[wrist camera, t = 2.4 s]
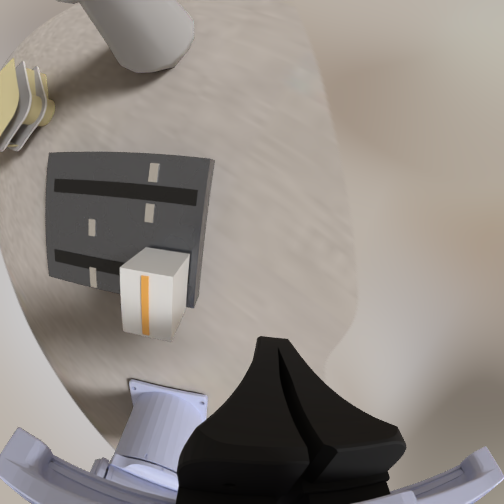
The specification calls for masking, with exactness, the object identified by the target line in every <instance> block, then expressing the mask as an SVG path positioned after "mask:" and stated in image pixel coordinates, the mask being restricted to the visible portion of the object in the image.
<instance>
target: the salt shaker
mask: <svg viewBox="0 0 504 504" xmlns="http://www.w3.org/2000/svg"><path fill="white" fill-rule="evenodd" d="M57 1H59V2H65V3H72V4H75V3H78V2H79V3H80V4H81V6H82V7H83V9H84V10H85V12H86V13H87V15H88V16H89V18H90V19H91V21H92V22H93V23H94V25H95V26H96V28H97V29H98V31H99V32H100V34H101V35H102V37H103V38H104V40H105V41H106V43H107V44H108V46H109V48H110V49H111V51H112V53H113V54H114V56H115V57H116V59H117V61H118V62H119V64H120V65H121V66H123V67H125V68H127V69H129V70H131V71H133V72H136V73H147V72H156V71H160V70H164V69H168V68H173V67H175V66H176V64H177V63H178V62H179V61H180V60H181V58H182V57H183V56H184V55H185V54H186V52H187V51H188V50H189V49H190V46H191V44H192V42H193V40H194V20H193V19H192V18H191V17H190V15H189V14H188V13H187V11H186V10H185V9H184V8H183V7H182V6H181V5H180V3H179V2H178V1H177V0H57Z"/></svg>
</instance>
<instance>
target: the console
mask: <svg viewBox="0 0 504 504" xmlns="http://www.w3.org/2000/svg"><path fill="white" fill-rule="evenodd" d="M214 162H215V160H212V159H207V158H198V157H188V156H177V155H164V154H149V153H128V152H56V153H49V158H48V168H47V182H46V246H47V259H48V270H49V276H51V277H54V278H58V279H62V280H65V281H69V282H73V283H77V284H81V285H85V286H89V287H93V288H97V289H101V290H105V291H110V292H114V293H118V294H121V293H120V267H121V266H122V265H123V264H125V263H126V262H127V261H128V260H130V259H131V258H132V257H134V256H135V255H136V254H138V253H139V252H140V251H142V250H143V249H144V248H145V247H148V248H155V249H161V250H168V251H174V252H181V253H187V254H190V258H189V270H188V283H187V297H186V307H189V308H194V306H195V304H196V301H197V299H198V297H199V287H200V276H201V266H202V256H203V247H204V238H205V229H206V221H207V213H208V205H209V197H210V190H211V183H212V176H213V169H214Z"/></svg>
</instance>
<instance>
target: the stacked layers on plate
mask: <svg viewBox="0 0 504 504" xmlns="http://www.w3.org/2000/svg"><path fill="white" fill-rule="evenodd" d="M54 111H55V104H54V102H53V101H52V100H50V99H49V98H48V89H47V80H46V75H45V74H42V73H40V71H39V67H37V66H36V67H34V68H33V69H32V70H31V69H28V68H26V66H25V62H24V61H22V62H21V63H20V64H19V65H18V66H17V67H16V68H15V64H14V58H13V59H12V60H11V61H10V62H9V63H8V64H7V65H6V66H5V67H4V68H3V69H2V70H1V71H0V151H4V150H5V149H6V147H7V148H8V149H11V150H14V151H19V150H20V149H21V148H22V147H23V145H24V144H25V142H26V141H27V139H28V138H29V136H30V135H31V134H32V132H33V131H34V130H35V128H36V127H37V126H45V125H47V124H48V123H49V122H50V120H51V119H52V117H53V115H54Z"/></svg>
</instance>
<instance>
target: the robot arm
mask: <svg viewBox="0 0 504 504" xmlns="http://www.w3.org/2000/svg"><path fill="white" fill-rule="evenodd" d="M129 387H130V392H131V397H132V402H133V410H132V412H131V414H130V417H129V419H128V421H127V424H126V426H125V429H124V431H123V433H122V436H121V438H120V441H119V443H118V446H117V448H116V451H115V453H114V455H113V457H112V459H111V460H110V462H109V460H107V459H106V458H102V459H97V460H95V462H94V464H93V466H92V469H91V471H90V472H87V471H85V470H83V469H81V468H78V467H76V466H74V465H72V464H70V463H68V462H66V461H64V460H62V459H60V458H58V457H57V456H54V455H53V454H52V452H51V450H50V449H49V447H48V446H47V445H46V444H44V443H43V442H42V441H41V440H39V439H38V438H36V437H35V436H33V435H31V434H29V433H28V432H26V431H25V430H23V429H22V428H20V427H18V428H17V430H16V431H15V432H14V434H13V435H12V437H11V439H10V440H9V442H8V443H7V445H6V446H5V448H4V449H3V451H2V452H1V454H0V479H2V480H3V481H4V482H5V483H6V484H7V485H8V486H9V487H11V488H12V489H13V490H14V491H15V492H17V493H18V494H19V495H20V496H21V497H23V498H24V499H25V500H27V501H28V502H30V503H31V504H473V503H475V502H476V501H478V500H479V499H480V498H481V497H483V496H484V495H485V494H487V493H488V492H489V491H490V490H492V489H493V488H494V487H495V486H496V485H497V484H499V483H500V482H501V481H502V480H503V479H504V475H503V473H502V471H501V470H500V468H499V467H498V465H497V463H496V461H495V460H494V458H493V457H492V455H491V453H490V452H489V450H488V449H487V447H486V446H484V447H482V448H480V449H479V450H477V451H475V452H473V453H472V454H470V455H469V456H468V457H466V458H465V459H464V460H463V461H462V462H461V464H460V465H458V466H456V467H454V468H452V469H450V470H447V471H445V472H443V473H440V474H438V475H436V476H433V477H431V478H429V479H426V480H423V481H421V482H418V483H415V484H412V485H409V486H406V487H403V488H400V489H397V490H394V491H389V488H388V485H387V483H386V481H388V480H389V474H388V470H389V469H390V468H391V467H392V466H393V465H394V464H395V463H396V462H397V461H398V460H399V459H400V458H401V456H402V455H403V454H404V452H405V450H406V443H405V441H404V439H403V437H402V435H401V433H400V431H399V429H398V427H397V426H394V425H392V424H389V423H387V422H384V421H382V420H379V419H377V418H375V417H373V416H371V415H369V414H367V413H365V412H363V411H362V410H360V409H358V408H356V407H355V406H353V405H352V404H350V403H349V402H347V401H346V400H344V399H343V398H342V397H340V396H339V395H338V394H336V393H335V392H334V391H333V390H332V389H331V388H329V387H328V386H327V385H326V384H325V383H324V382H323V381H322V380H321V379H320V378H319V377H318V376H317V375H316V374H315V373H314V372H313V370H312V369H311V368H310V367H309V366H308V365H307V363H306V362H305V361H304V360H303V358H302V357H301V356H300V354H299V353H298V352H297V350H296V349H295V348H294V346H293V345H292V344H291V342H290V341H289V340H288V339H282V338H272V337H263V336H260V337H258V338H257V343H256V348H255V352H254V357H253V361H252V363H251V365H250V367H249V369H248V371H247V373H246V375H245V376H244V378H243V380H242V381H241V383H240V384H239V386H238V387H237V388H236V390H235V391H234V392H233V394H232V395H231V396H230V397H229V398H228V400H227V401H226V402H225V403H224V404H223V405H222V406H221V407H220V408H219V409H218V410H217V411H216V412H215V413H214V414H212V415H211V416H210V417H209V418H208V419H206V414H207V401H208V397H207V396H206V395H203V394H197V393H192V392H186V391H181V390H176V389H171V388H167V387H162V386H158V385H154V384H149V383H145V382H142V381H138V380H134V379H131V380H130V382H129Z"/></svg>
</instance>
